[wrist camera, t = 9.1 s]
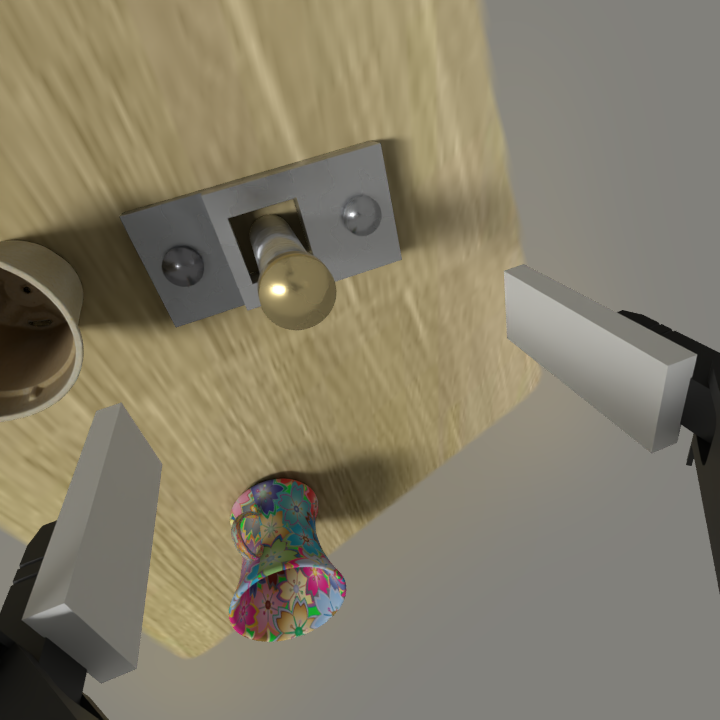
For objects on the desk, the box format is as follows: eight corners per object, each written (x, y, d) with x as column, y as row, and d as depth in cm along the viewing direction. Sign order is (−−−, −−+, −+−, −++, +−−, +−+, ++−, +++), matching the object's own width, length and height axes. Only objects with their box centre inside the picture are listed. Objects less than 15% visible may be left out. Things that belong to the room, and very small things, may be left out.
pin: (235, 217, 31) (247, 270, 21) (288, 201, 31) (325, 246, 21) (254, 268, 33) (273, 339, 23) (303, 253, 33) (344, 316, 23)
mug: (336, 507, 47) (365, 600, 38) (259, 552, 47) (271, 656, 38) (274, 435, 41) (293, 527, 32) (186, 487, 41) (179, 594, 32)
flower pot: (44, 185, 27) (-17, 213, 20) (141, 313, 32) (121, 372, 25) (-103, 253, 27) (-219, 308, 19) (19, 372, 32) (-37, 450, 25)
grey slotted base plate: (122, 212, 29) (114, 223, 26) (369, 140, 31) (383, 143, 28) (176, 320, 33) (174, 338, 31) (390, 250, 35) (404, 261, 33)
